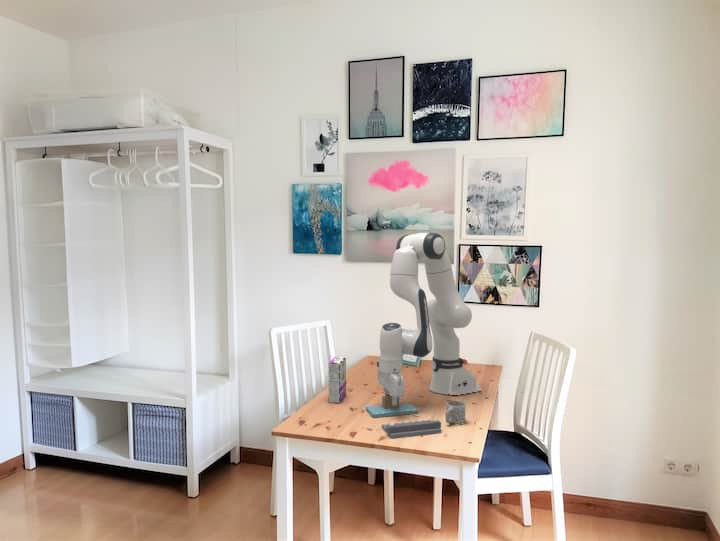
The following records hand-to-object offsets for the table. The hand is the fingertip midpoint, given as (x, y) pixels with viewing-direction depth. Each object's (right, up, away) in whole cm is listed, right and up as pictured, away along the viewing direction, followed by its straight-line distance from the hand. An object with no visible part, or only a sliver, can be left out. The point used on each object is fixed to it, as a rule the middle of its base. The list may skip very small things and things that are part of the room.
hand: (390, 401), depth 205 cm
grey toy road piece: (+6, -5, -20) cm, 22 cm away
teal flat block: (0, -3, -1) cm, 4 cm away
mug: (+22, -5, -12) cm, 26 cm away
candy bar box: (-21, -2, +14) cm, 25 cm away
